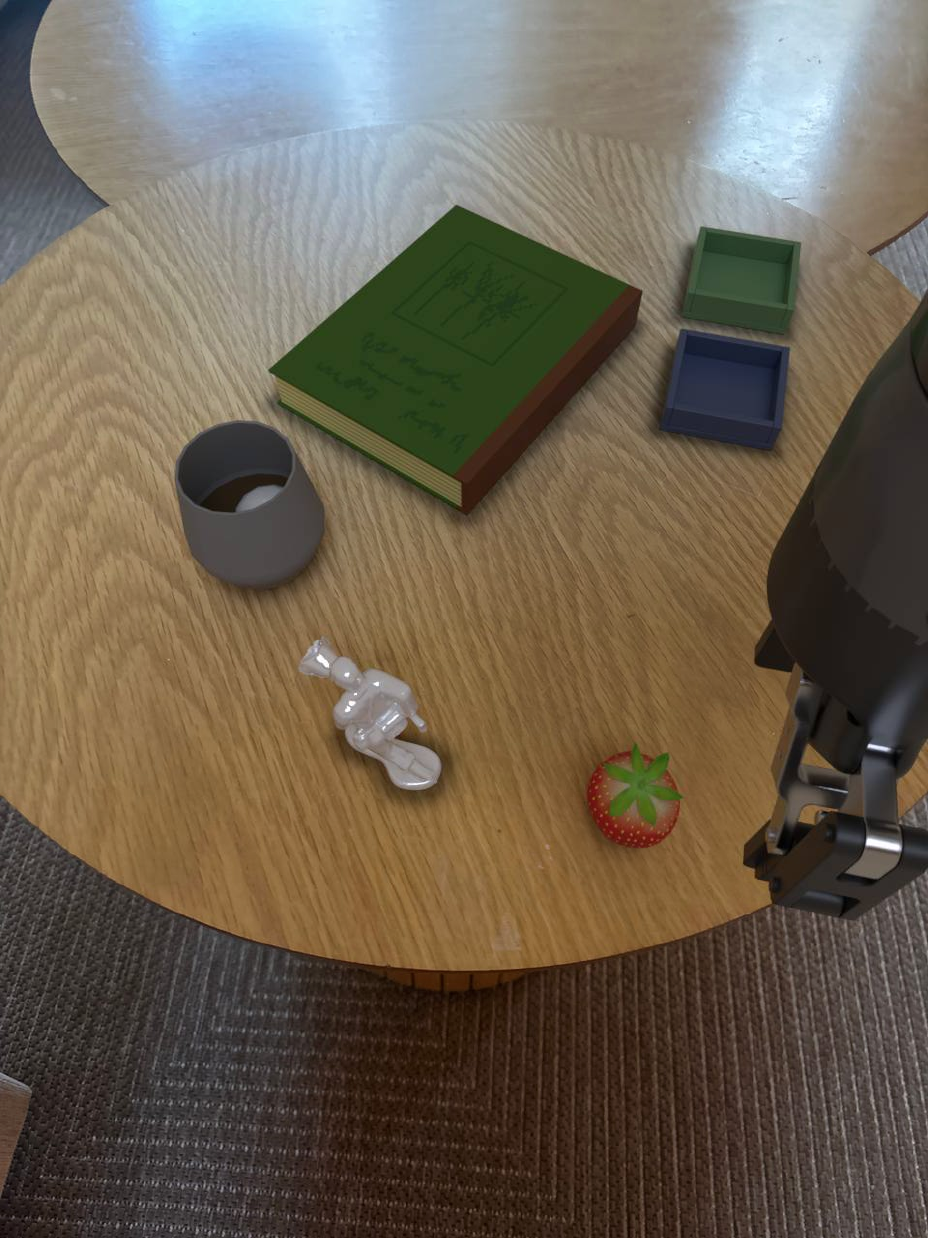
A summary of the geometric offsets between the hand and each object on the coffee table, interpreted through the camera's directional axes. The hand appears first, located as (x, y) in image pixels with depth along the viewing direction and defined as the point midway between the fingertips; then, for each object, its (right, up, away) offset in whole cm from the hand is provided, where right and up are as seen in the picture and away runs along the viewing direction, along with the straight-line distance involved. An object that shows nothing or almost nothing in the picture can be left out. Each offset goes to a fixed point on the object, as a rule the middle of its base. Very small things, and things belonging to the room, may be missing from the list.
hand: (774, 756), depth 35 cm
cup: (-27, +10, +29) cm, 40 cm away
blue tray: (+8, +23, +36) cm, 43 cm away
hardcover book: (-12, +27, +38) cm, 48 cm away
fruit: (-3, -7, +19) cm, 20 cm away
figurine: (-18, -3, +22) cm, 28 cm away
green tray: (+11, +34, +42) cm, 55 cm away
